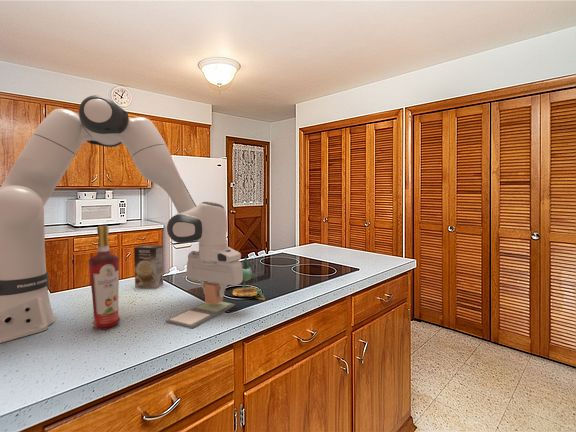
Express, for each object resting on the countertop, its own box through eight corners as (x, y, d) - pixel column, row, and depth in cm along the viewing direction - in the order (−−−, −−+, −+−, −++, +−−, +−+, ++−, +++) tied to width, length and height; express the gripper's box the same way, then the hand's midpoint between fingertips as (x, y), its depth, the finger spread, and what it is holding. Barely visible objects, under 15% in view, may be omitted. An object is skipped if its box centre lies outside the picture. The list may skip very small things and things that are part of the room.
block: (215, 304, 103) (214, 285, 103) (205, 302, 105) (204, 284, 105) (222, 300, 107) (222, 282, 107) (213, 298, 109) (212, 281, 108)
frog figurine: (246, 305, 109) (243, 260, 110) (225, 296, 124) (222, 257, 124) (271, 299, 115) (268, 257, 115) (247, 292, 130) (245, 254, 130)
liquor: (117, 318, 97) (113, 224, 95) (124, 326, 92) (121, 226, 90) (89, 325, 92) (84, 226, 90) (94, 333, 87) (90, 228, 85)
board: (192, 328, 90) (192, 325, 90) (165, 322, 94) (165, 319, 94) (235, 306, 108) (235, 303, 108) (210, 301, 112) (210, 299, 112)
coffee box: (134, 288, 128) (132, 247, 127) (142, 283, 135) (141, 244, 133) (156, 288, 127) (155, 247, 126) (164, 284, 134) (163, 245, 132)
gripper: (181, 251, 107) (182, 293, 108) (233, 257, 98) (233, 303, 99) (194, 248, 112) (195, 288, 113) (245, 253, 103) (245, 297, 104)
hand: (213, 295), depth 106 cm, fingers closed on block, 4 cm apart
